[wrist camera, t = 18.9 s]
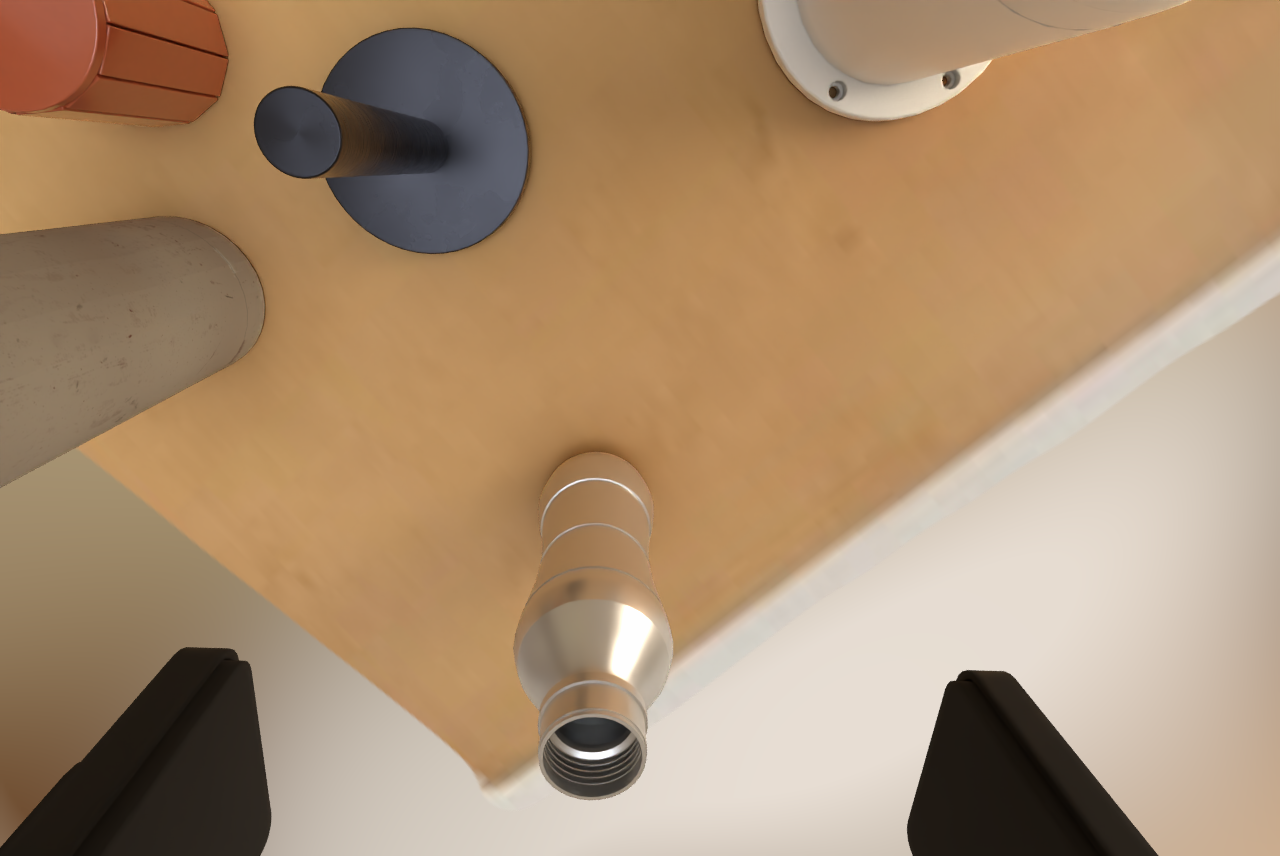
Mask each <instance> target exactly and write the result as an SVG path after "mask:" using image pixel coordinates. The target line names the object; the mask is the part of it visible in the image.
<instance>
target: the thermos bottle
mask: <svg viewBox="0 0 1280 856" xmlns="http://www.w3.org/2000/svg"><path fill="white" fill-rule="evenodd" d="M264 311H265V303H264V297H263V291H262V287H261V285H260V282H259V279H258V277H257V274H256V272H255V271H254V269H253V267H252V266H251V264H250V262H249V261H248V259H247V258H246V257H245V256H244V255H243V253H242V252H241V251H240V250H239V249H238V248H237V247H236V246H235V245H234V244H233V243H232V242H231V241H229V240H228V239H227V238H226V237H225V236H223V235H222V234H220V233H218V232H217V231H215V230H214V229H212V228H210V227H209V226H206V225H204V224H201V223H198V222H196V221H193V220H189V219H184V218H179V217H151V218H142V219H133V220H124V221H115V222H107V223H98V224H89V225H80V226H71V227H62V228H54V229H45V230H36V231H27V232H18V233H9V234H1V235H0V488H1V487H3V486H5V485H7V484H8V483H11V482H12V481H14V480H16V479H18V478H20V477H22V476H23V475H25V474H27V473H29V472H31V471H33V470H35V469H36V468H39V467H40V466H42V465H44V464H46V463H48V462H50V461H52V460H53V459H55V458H57V457H59V456H61V455H63V454H65V453H67V452H68V451H70V450H72V449H74V448H76V447H78V446H80V445H82V444H83V443H85V442H87V441H89V440H91V439H93V438H95V437H96V436H98V435H100V434H102V433H104V432H106V431H108V430H110V429H111V428H113V427H115V426H117V425H119V424H121V423H123V422H125V421H126V420H128V419H130V418H132V417H134V416H136V415H138V414H139V413H141V412H143V411H145V410H147V409H149V408H151V407H153V406H154V405H156V404H158V403H160V402H162V401H164V400H166V399H167V398H169V397H171V396H173V395H175V394H177V393H179V392H181V391H182V390H184V389H186V388H188V387H190V386H192V385H194V384H195V383H197V382H199V381H201V380H203V379H205V378H207V377H209V376H210V375H212V374H214V373H216V372H218V371H220V370H222V369H224V368H225V367H227V366H229V365H231V364H233V363H235V362H236V361H237V360H239V359H240V358H242V357H243V356H244V355H246V354H247V352H248V351H249V350H250V349H251V348H252V347H253V346H254V344H255V343H256V341H257V339H258V337H259V335H260V333H261V330H262V326H263V322H264Z"/></svg>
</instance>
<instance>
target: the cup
mask: <svg viewBox="0 0 1280 856" xmlns="http://www.w3.org/2000/svg"><path fill="white" fill-rule="evenodd" d="M214 11H215V10H214V9H213V7H212V6H211V5H210V4H209V3H208V1H207V0H0V110H2V111H6V112H8V113H11V114H17V115H23V116H34V117H46V118H57V119H69V120H80V121H92V122H103V123H115V124H126V125H138V126H149V127H159V126H169V125H179V124H189V123H190V122H193V121H194V120H196V119H197V118H198V117H199V116H200V115H201V114H202V113H203V112H205V111H206V110H207V109H208V108H209V107H210V106H211V105H212V104H214V103H215V102H216V101H217V100H218V98H217V97H216V96H220V94H221V90H222V85H223V81H224V77H225V73H226V68H227V64H228V59H226V58H224V57H227V56H228V53H227V49H226V46H225V42H224V38H223V35H222V31H221V27H220V24H219V20H218V16H217V14H214V13H213V12H214ZM189 121H190V122H189Z"/></svg>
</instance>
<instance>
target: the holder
mask: <svg viewBox="0 0 1280 856" xmlns="http://www.w3.org/2000/svg"><path fill="white" fill-rule="evenodd" d="M254 132H255V137H256V140H257V143H258V145H259V148H260V150H261V151H262V153H263V155H264V156H265V157H266V159H267V160H268V161H269V162H270V163H271V164H272V165H273V166H274V167H276V168H277V169H278V170H280V171H281V172H283V173H285V174H287V175H289V176H292V177H296V178H302V179H311V178H326V180H327V183H328V185H329V187H330V189H331V190H332V192H333V194H334V195H335V197H336V199H337V200H338V202H339V203H340V204H341V206H342V207H343V208H344V210H345V211H346V212H347V213H348V214H349V215H350V216H351V217H352V218H353V219H354V220H355V221H356V222H357V223H358V224H359V225H360V226H362V227H363V228H364V229H365V230H366V231H368V232H369V233H371V234H372V235H374V236H375V237H377V238H378V239H380V240H382V241H384V242H386V243H388V244H390V245H393V246H395V247H398V248H401V249H404V250H408V251H412V252H417V253H427V254H440V253H449V252H454V251H458V250H462V249H465V248H468V247H470V246H472V245H474V244H476V243H478V242H480V241H482V240H484V239H485V238H487V237H488V236H490V235H491V234H493V233H494V232H495V231H496V230H497V229H499V228H500V227H501V226H502V225H503V224H504V223H505V222H506V220H507V219H508V218H509V217H510V216H511V215H512V213H513V211H514V210H515V208H516V207H517V205H518V204H519V201H520V199H521V197H522V195H523V193H524V190H525V187H526V183H527V180H528V175H529V169H530V159H531V147H530V136H529V131H528V126H527V122H526V119H525V116H524V113H523V110H522V107H521V105H520V103H519V101H518V99H517V96H516V94H515V93H514V91H513V90H512V88H511V86H510V85H509V83H508V82H507V80H506V79H505V78H504V77H503V75H502V74H501V73H500V72H499V70H498V69H497V68H496V67H495V66H493V65H492V64H491V63H490V62H489V61H488V60H487V59H486V58H485V57H484V56H483V55H482V54H480V53H479V52H478V51H476V50H475V49H474V48H472V47H471V46H469V45H467V44H466V43H464V42H462V41H461V40H459V39H457V38H454V37H452V36H449V35H447V34H445V33H441V32H437V31H434V30H430V29H421V28H398V29H393V30H387V31H384V32H381V33H378V34H375V35H372V36H370V37H368V38H367V39H365V40H363V41H361V42H359V43H358V44H357V45H355V46H354V47H353V48H351V49H350V50H349V51H348V52H347V53H346V54H345V55H344V56H343V57H342V58H341V59H340V60H339V61H338V62H337V64H336V65H335V66H334V68H333V69H332V70H331V72H330V74H329V76H328V78H327V79H326V81H325V83H324V85H323V88H322V91H321V92H318V91H314V90H310V89H306V88H303V87H298V86H284V87H280V88H277V89H275V90H273V91H271V92H270V93H268V94H267V95H266V96H265V97H264V98H263V99H262V100H261V102H260V103H259V105H258V107H257V110H256V113H255V118H254Z"/></svg>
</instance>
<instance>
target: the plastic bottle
mask: <svg viewBox="0 0 1280 856" xmlns="http://www.w3.org/2000/svg"><path fill="white" fill-rule="evenodd" d="M538 515H539V528H540V533H541V537H542V559H541V563H540V567H539V570H538V574H537V578H536V582H535V584H534V587H533V589H532V591H531V594H530V596H529V598H528V601H527V603H526V605H525V608H524V609H523V612H522V615H521V617H520V620H519V623H518V627H517V630H516V633H515V639H514V647H513V649H514V659H515V665H516V668H517V672H518V676H519V679H520V682H521V685H522V688H523V690H524V691H525V693H526V695H527V696H528V698H529V699H530V701H531V702H532V703H533V704H534V705H535V707H536V708H537V709H538V710H539V718H538V732H539V736H540V737H539V746H538V758H539V766H540V769H541V771H542V774H543V775H544V777H545V779H546V780H547V781H548V782H549V783H550V784H551V785H552V786H553V787H554V788H555V789H557V790H558V791H560V792H561V793H563V794H565V795H568V796H570V797H574V798H577V799H584V800H600V799H606V798H610V797H613V796H616V795H618V794H620V793H622V792H624V791H625V790H627V789H628V788H630V787H631V786H632V785H633V784H634V783H635V782H636V781H637V779H638V778H639V777H640V776H641V774H642V772H643V769H644V767H645V763H646V756H647V744H646V733H647V728H648V725H647V710H648V709H649V707H650V706H651V705H652V704H653V703H654V701H655V700H656V699H657V697H658V696H659V695H660V693H661V691H662V689H663V687H664V685H665V683H666V680H667V677H668V673H669V670H670V666H671V662H672V657H673V639H672V635H671V631H670V627H669V623H668V619H667V615H666V613H665V610H664V608H663V605H662V603H661V600H660V597H659V595H658V592H657V590H656V587H655V585H654V582H653V578H652V573H651V569H650V564H649V540H650V537H651V532H652V527H653V518H654V505H653V500H652V496H651V493H650V491H649V489H648V487H647V485H646V483H645V481H644V480H643V478H642V476H641V475H640V474H639V472H638V471H637V470H636V469H635V468H634V467H633V466H632V465H631V464H630V463H629V462H627V461H625V460H624V459H622V458H620V457H618V456H615V455H613V454H610V453H603V452H588V453H583V454H579V455H576V456H574V457H572V458H569V459H568V460H566V461H565V462H564V463H562V464H561V465H560V466H559V467H558V468H557V469H556V470H555V471H554V472H553V474H552V475H551V477H550V478H549V480H548V482H547V483H546V485H545V486H544V488H543V490H542V493H541V496H540V499H539V506H538Z"/></svg>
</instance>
